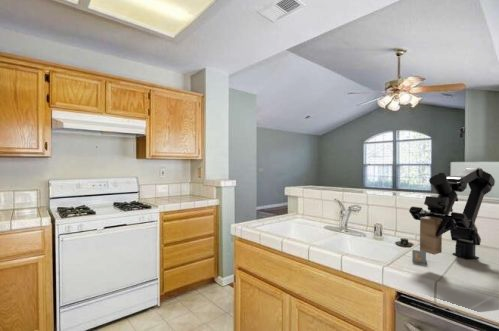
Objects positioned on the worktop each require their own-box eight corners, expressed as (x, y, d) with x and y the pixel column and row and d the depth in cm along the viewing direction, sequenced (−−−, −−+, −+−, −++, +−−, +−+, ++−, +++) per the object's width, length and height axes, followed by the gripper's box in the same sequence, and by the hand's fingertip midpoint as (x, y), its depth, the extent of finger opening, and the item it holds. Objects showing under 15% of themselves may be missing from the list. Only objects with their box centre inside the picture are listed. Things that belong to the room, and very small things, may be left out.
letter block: (413, 257, 112) (413, 246, 112) (426, 259, 109) (426, 248, 109) (412, 260, 108) (412, 249, 108) (425, 263, 105) (425, 252, 105)
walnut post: (427, 248, 103) (427, 216, 103) (441, 252, 99) (441, 218, 99) (419, 250, 101) (420, 217, 100) (434, 254, 96) (434, 220, 96)
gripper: (411, 186, 109) (395, 216, 104) (466, 191, 93) (449, 226, 88) (422, 204, 113) (406, 233, 108) (476, 211, 97) (461, 246, 92)
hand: (428, 234), depth 99 cm, fingers closed on walnut post, 5 cm apart
